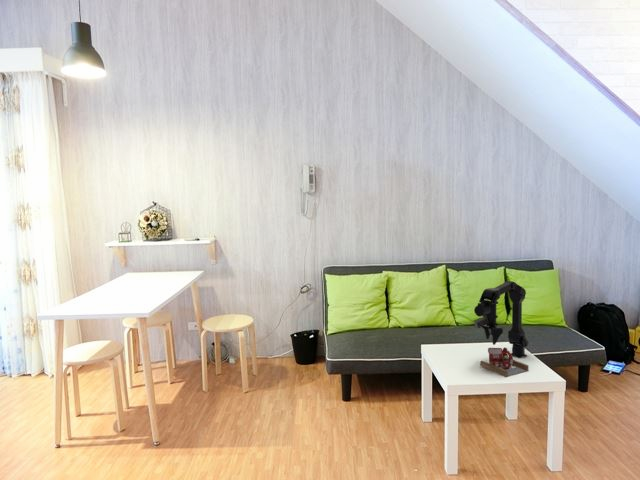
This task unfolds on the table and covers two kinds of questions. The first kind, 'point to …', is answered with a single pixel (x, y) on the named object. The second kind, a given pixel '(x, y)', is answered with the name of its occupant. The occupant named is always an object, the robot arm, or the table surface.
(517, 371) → the pad
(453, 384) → the table surface
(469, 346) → the table surface
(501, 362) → the toy fire truck
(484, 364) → the walnut channel
